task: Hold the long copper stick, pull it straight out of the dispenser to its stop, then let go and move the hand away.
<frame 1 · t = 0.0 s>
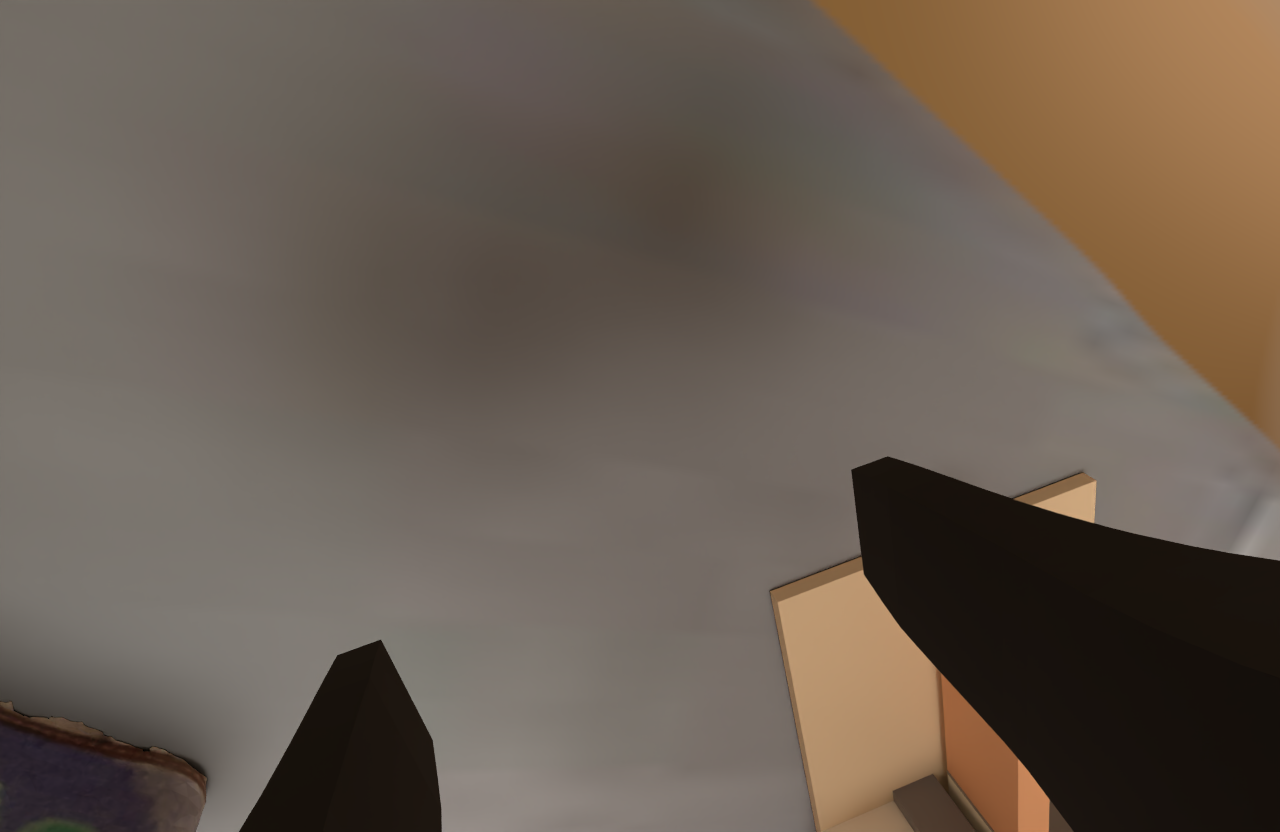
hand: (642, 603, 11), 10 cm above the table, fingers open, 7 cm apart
long copper stick: (994, 773, 28), point 3 cm above the table, slide at 0.0 cm
dispenser: (948, 793, 33), on the table
flask: (35, 742, 21), on the table
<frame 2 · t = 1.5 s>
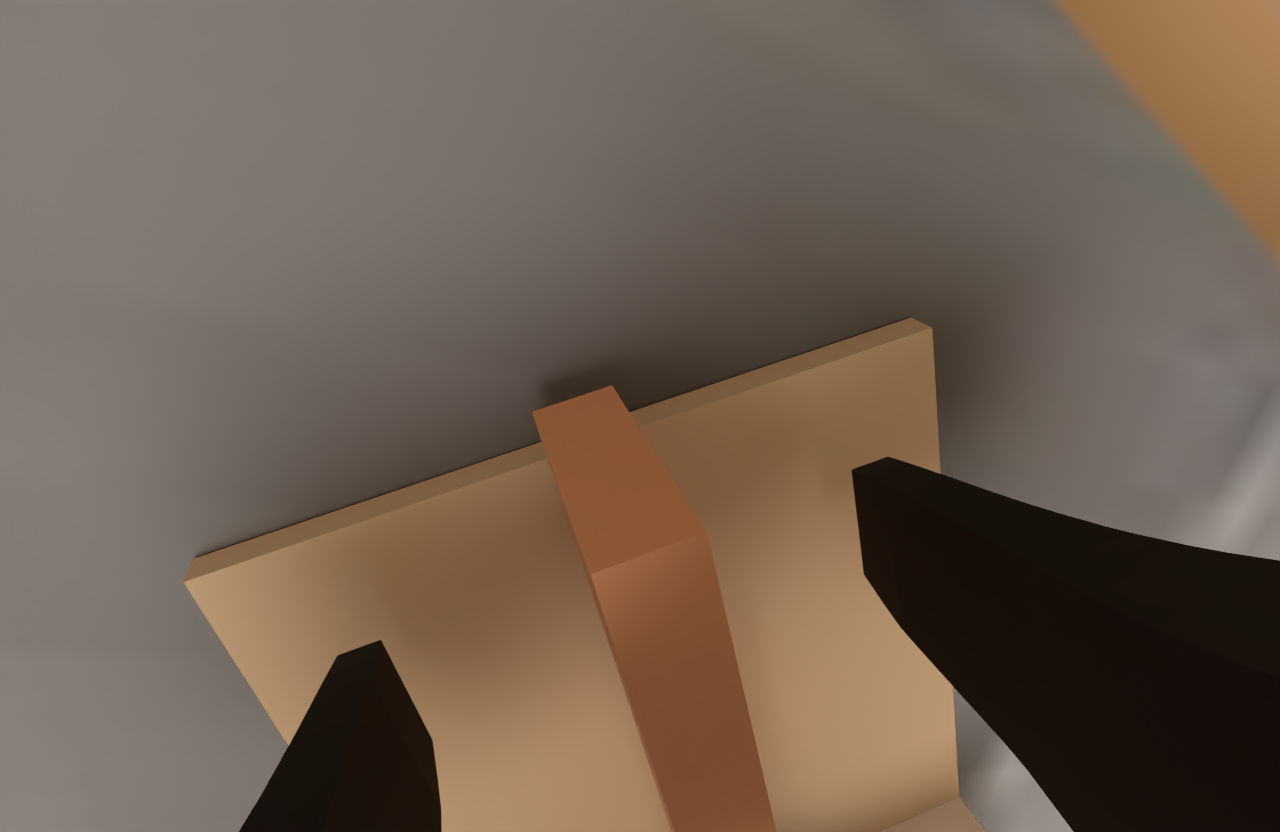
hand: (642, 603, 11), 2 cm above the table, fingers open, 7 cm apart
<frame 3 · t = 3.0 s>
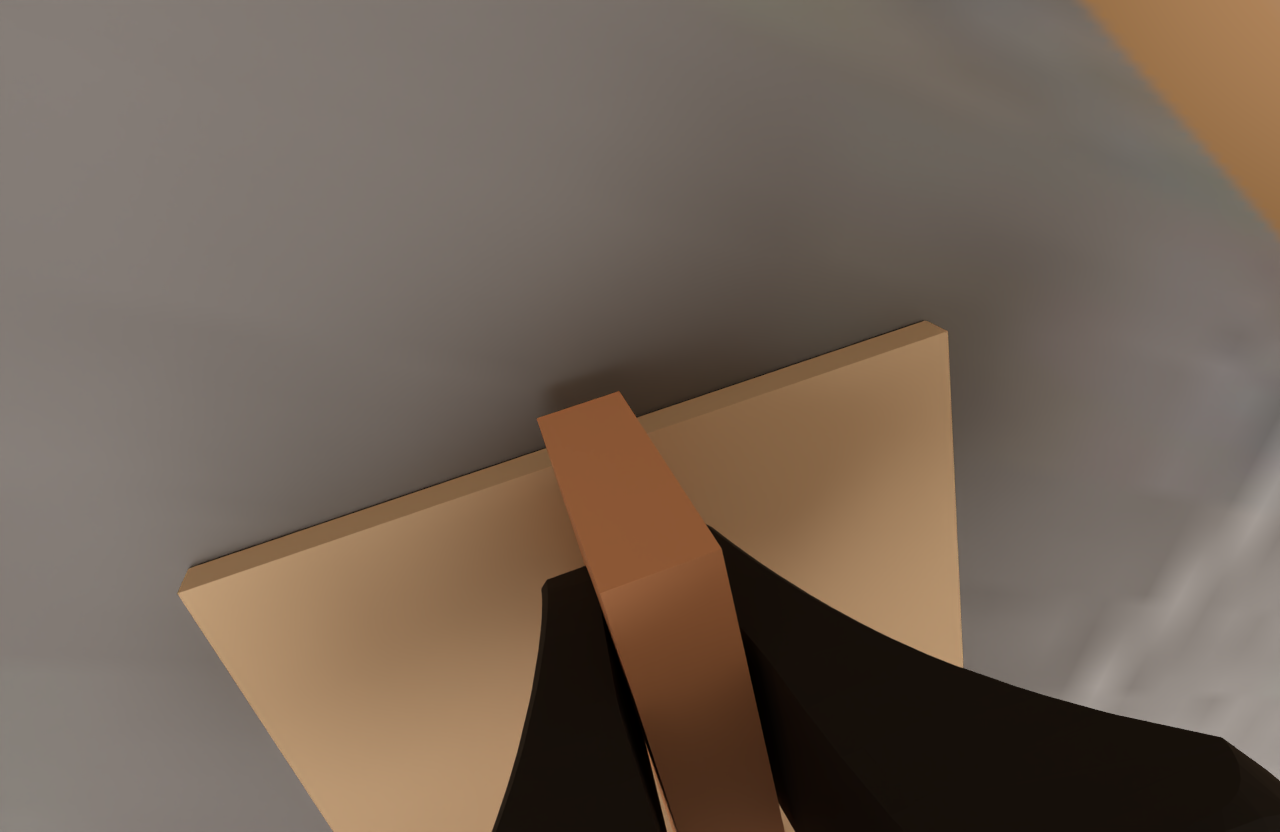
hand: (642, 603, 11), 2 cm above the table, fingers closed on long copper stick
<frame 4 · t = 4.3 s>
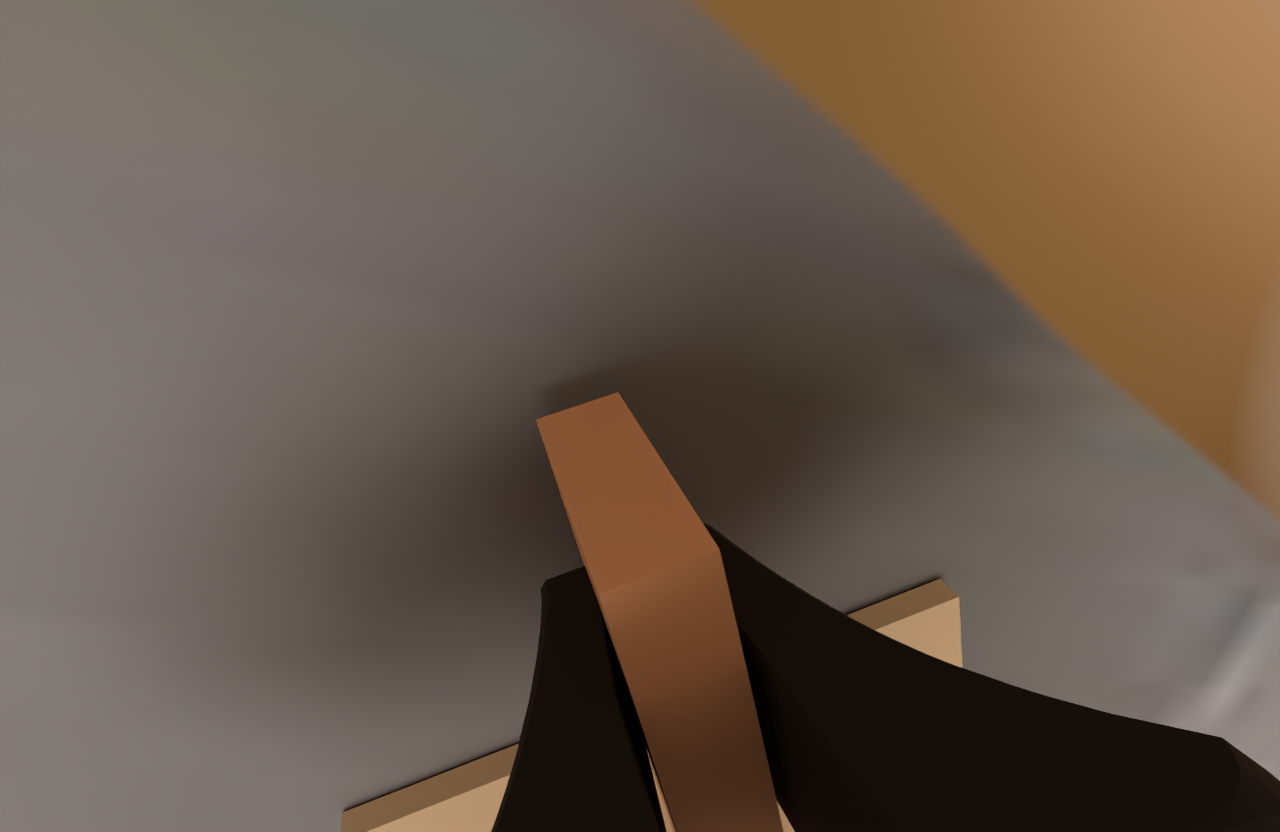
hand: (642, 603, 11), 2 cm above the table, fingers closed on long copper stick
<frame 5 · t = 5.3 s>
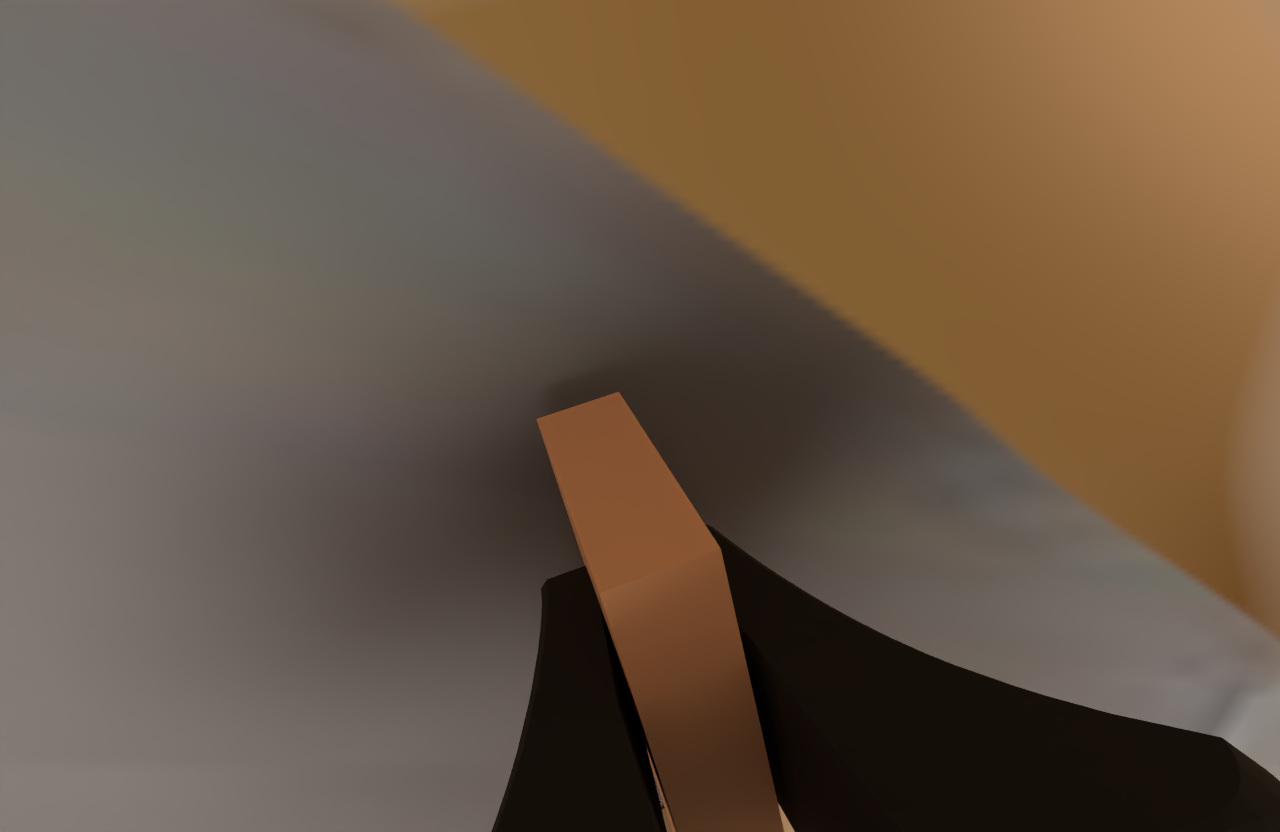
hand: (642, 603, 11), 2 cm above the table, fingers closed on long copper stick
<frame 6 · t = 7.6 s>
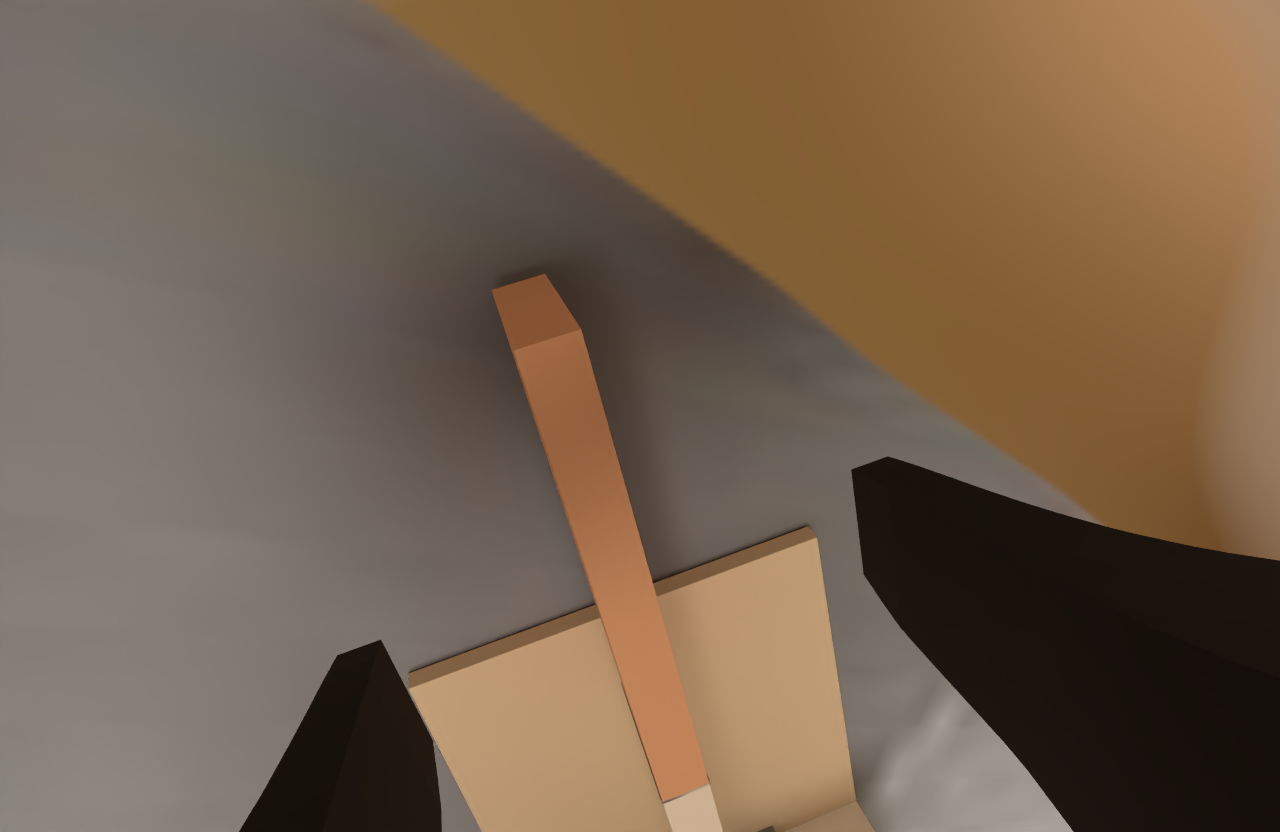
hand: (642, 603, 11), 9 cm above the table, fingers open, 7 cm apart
long copper stick: (645, 675, 19), point 3 cm above the table, slide at 8.8 cm
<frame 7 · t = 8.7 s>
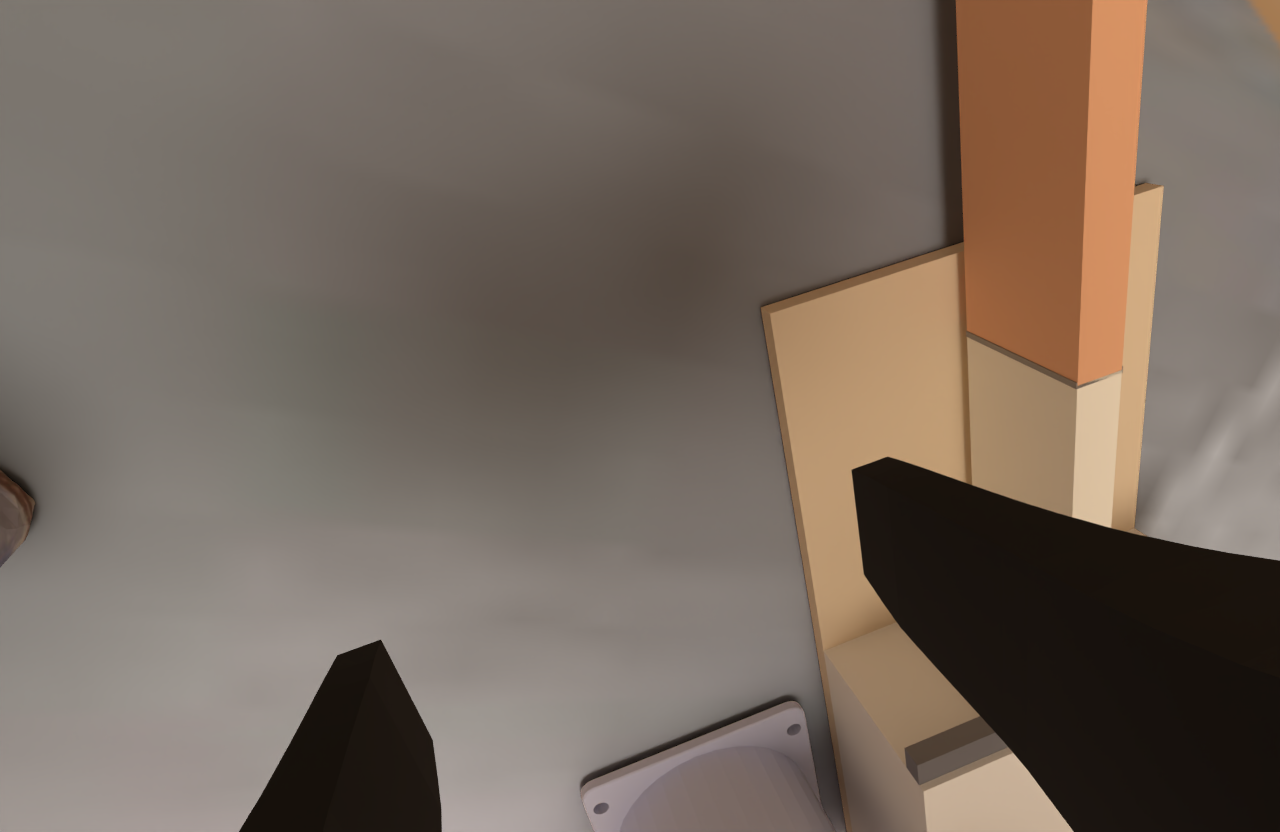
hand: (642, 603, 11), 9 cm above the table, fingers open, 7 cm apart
long copper stick: (1038, 275, 19), point 3 cm above the table, slide at 8.8 cm
dispenser: (973, 620, 28), on the table
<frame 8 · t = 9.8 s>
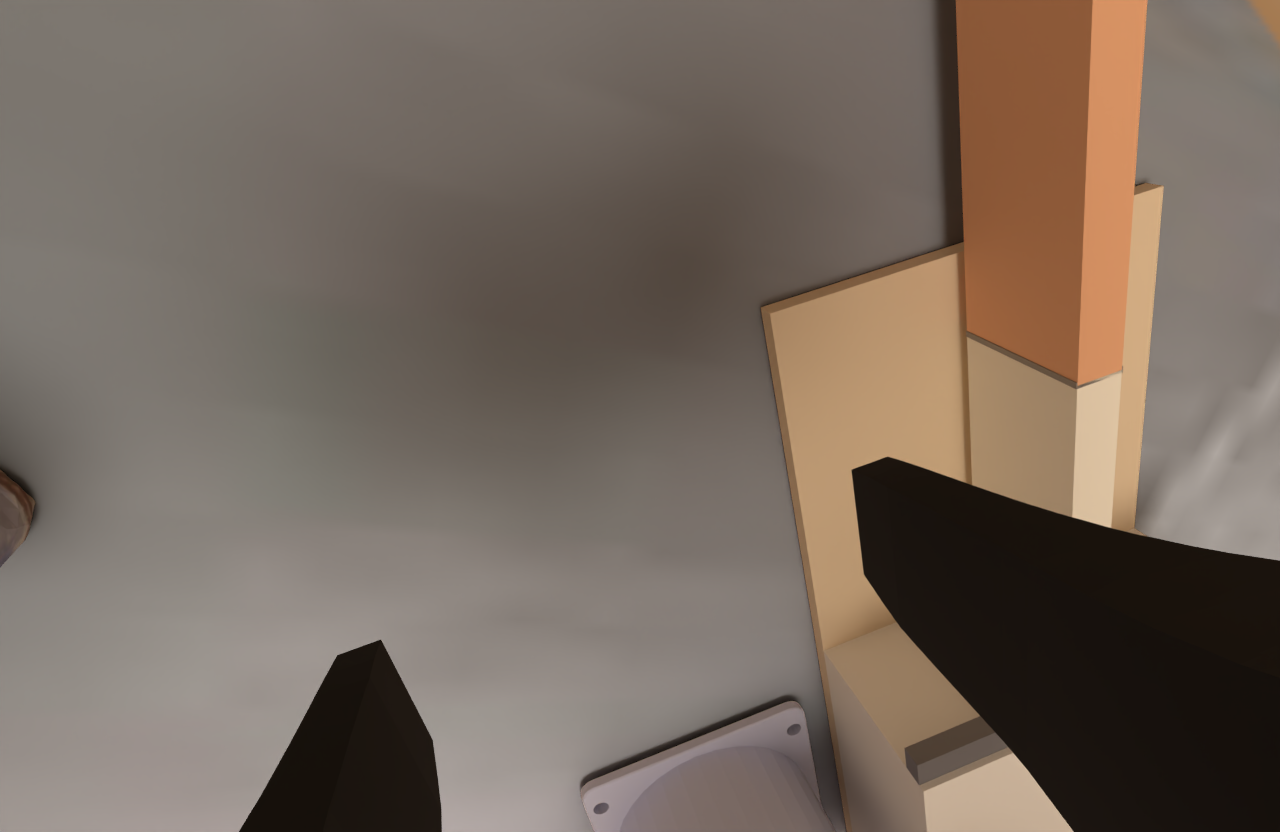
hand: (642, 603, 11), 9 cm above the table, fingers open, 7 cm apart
long copper stick: (1038, 275, 19), point 3 cm above the table, slide at 8.8 cm
dispenser: (973, 620, 28), on the table
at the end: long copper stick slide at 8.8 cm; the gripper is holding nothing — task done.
